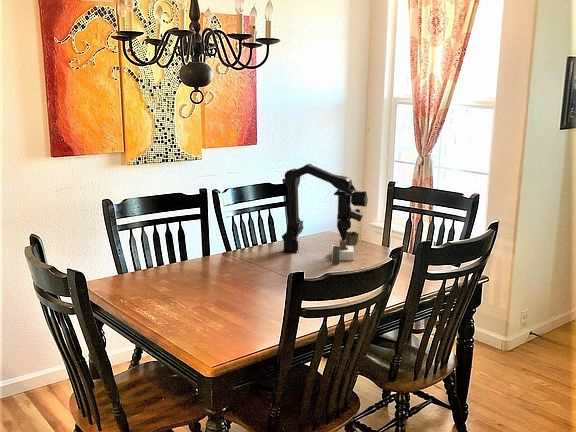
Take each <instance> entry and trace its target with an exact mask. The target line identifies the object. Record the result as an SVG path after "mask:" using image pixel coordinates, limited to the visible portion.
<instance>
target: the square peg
mask: <svg viewBox="0 0 576 432" xmlns="http://www.w3.org/2000/svg"><path fill="white" fill-rule="evenodd" d="M339 246H340V250H346V246H347V245H346V240H345V241H343V240H342V238H341V239H339Z"/></svg>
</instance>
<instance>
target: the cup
mask: <svg viewBox="0 0 576 432" xmlns="http://www.w3.org/2000/svg"><path fill="white" fill-rule="evenodd" d="M359 234H360V233H359V232H357V231H347V233H346V238H345V240H346V246H353V247H354V249H355V246H356V245H357V244H358V242H359Z"/></svg>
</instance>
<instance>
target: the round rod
mask: <svg viewBox="0 0 576 432" xmlns="http://www.w3.org/2000/svg"><path fill="white" fill-rule="evenodd" d="M339 258H340V245H337V246H333V260H332V265H334V266H337V265H338V264H339V265H340V260H339ZM339 265H338V266H339Z"/></svg>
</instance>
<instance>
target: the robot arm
mask: <svg viewBox="0 0 576 432" xmlns="http://www.w3.org/2000/svg"><path fill="white" fill-rule="evenodd" d="M307 174H308V175H311V176H312V177H315V178H318V179H320V180H322V181H324V182H326V183H329V184H331V186H333V187H334V188H335V189H337V190H336V191H335V192H334V193H333V195H334V196H337V215H336V216H337V217H336V219H337V220H336V228H337V230H338V232H339V235H340V238H341V239H342V240H343V241H345V238H346V233H347V232H348V230H350V229H351V228H352V220H354V221H357V222H361V221H362V218H363V216H364V214H363V212H361V210H360V209H359V208H355V210H354V209H352V206H351V205H353V206H355V207H367V206H368V200H369V198H368V194H367V191H366V190H363V191H361V190H360V191H358V190H357V189H356V187H355V185H353V182H352V179H351V177H348V176H344V175H338V174H334V173H331V172H329V171H327V170H324V169H322V168H320V167H317V166H315V165H313V164H312V163H308V164H305V165H303V166H302V167H299V168H291V169H289V170H287V171H286V172H285V173H284V180H285V185H286V187H287V189H288V212H289V213H288V214H289V215H288V216H289V219H288V221H287V224H286V225H287V226H286V232H285V233H284V234H282V236H281V238H282V240H283V251H282V253H294V254H296V253H298V251H299V240H298V237H299V235H300V234H301V233H303V230H304V220H301V219H300V213H299V210H300V209H299V208H300V207H299V186H300V183H301V178H302V176H304V175H307Z"/></svg>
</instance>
